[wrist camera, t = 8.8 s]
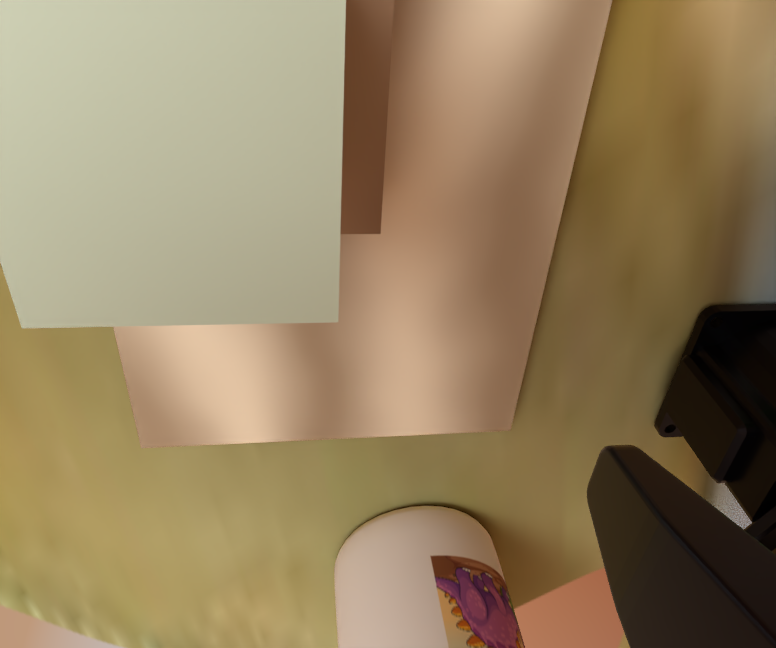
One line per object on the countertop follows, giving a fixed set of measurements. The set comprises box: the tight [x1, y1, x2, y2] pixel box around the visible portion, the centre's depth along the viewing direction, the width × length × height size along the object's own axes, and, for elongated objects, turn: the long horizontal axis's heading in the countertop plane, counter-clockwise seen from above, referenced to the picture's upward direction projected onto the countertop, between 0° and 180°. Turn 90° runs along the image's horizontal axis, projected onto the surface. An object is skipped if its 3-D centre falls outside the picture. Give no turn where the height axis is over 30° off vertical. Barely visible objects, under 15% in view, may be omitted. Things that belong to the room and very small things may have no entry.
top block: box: [0, 0, 346, 328], centre depth 11 cm, size 5×5×6 cm
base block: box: [340, 0, 394, 234], centre depth 15 cm, size 8×8×2 cm
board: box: [113, 0, 612, 448], centre depth 18 cm, size 14×22×1 cm, turn 176°
